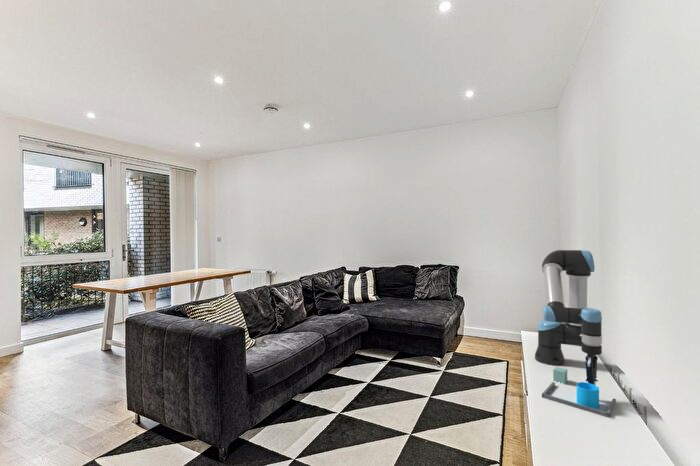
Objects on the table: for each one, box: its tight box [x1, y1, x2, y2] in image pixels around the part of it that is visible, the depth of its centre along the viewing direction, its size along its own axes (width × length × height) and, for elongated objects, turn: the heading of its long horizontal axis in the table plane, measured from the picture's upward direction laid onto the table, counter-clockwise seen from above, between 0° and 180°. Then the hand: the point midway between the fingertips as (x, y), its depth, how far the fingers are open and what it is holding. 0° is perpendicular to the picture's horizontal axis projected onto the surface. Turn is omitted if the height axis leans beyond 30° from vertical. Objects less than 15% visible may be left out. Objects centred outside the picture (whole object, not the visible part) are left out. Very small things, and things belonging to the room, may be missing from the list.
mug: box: [576, 381, 600, 410], centre depth 155 cm, size 12×8×8 cm
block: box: [552, 366, 568, 385], centre depth 176 cm, size 5×5×6 cm
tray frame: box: [541, 381, 617, 418], centre depth 157 cm, size 17×25×2 cm
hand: (591, 395), depth 158 cm, fingers closed
